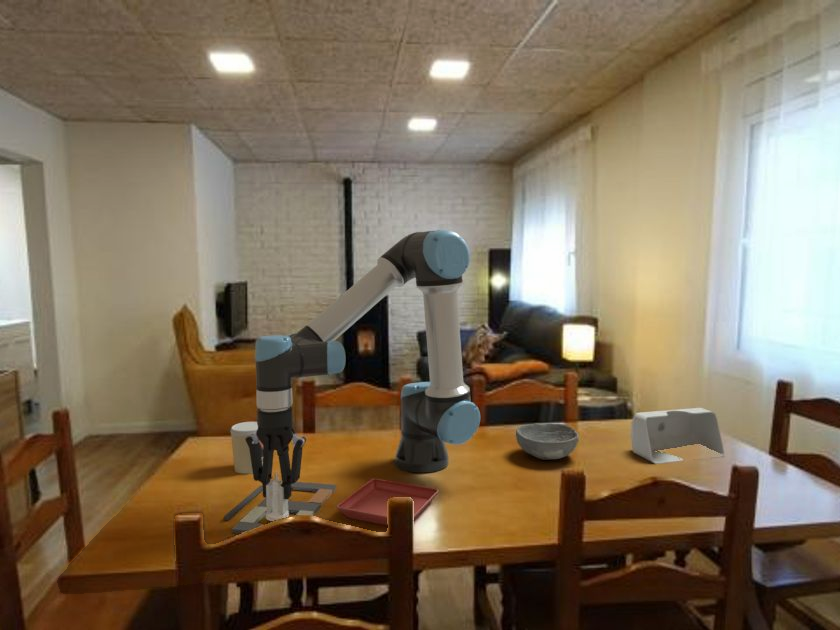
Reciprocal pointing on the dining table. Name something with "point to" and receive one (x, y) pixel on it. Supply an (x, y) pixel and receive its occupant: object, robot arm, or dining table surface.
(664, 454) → the grey plastic housing
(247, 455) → the coffee cup
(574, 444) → the bowl
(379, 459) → the dining table surface
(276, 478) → the chess piece
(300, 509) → the panel
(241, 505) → the rod
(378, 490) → the plant saucer
